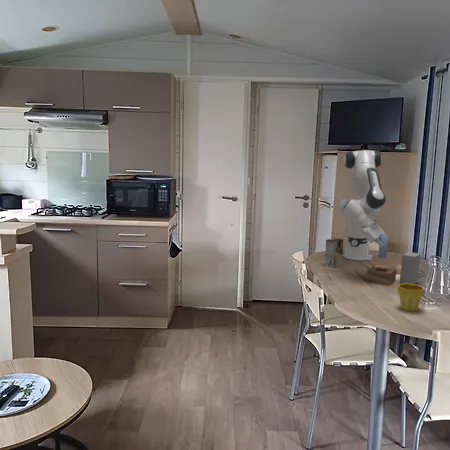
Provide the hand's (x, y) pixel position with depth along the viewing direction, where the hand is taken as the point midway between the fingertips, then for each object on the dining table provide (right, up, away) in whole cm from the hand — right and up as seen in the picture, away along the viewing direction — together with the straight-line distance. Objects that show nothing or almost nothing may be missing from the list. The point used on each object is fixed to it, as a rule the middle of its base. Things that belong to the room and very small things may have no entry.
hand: (384, 245), depth 227 cm
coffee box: (-18, -14, +36) cm, 43 cm away
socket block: (-1, -19, +3) cm, 19 cm away
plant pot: (-4, -26, -39) cm, 47 cm away
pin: (-1, -6, +1) cm, 6 cm away
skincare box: (+13, -20, 0) cm, 24 cm away
